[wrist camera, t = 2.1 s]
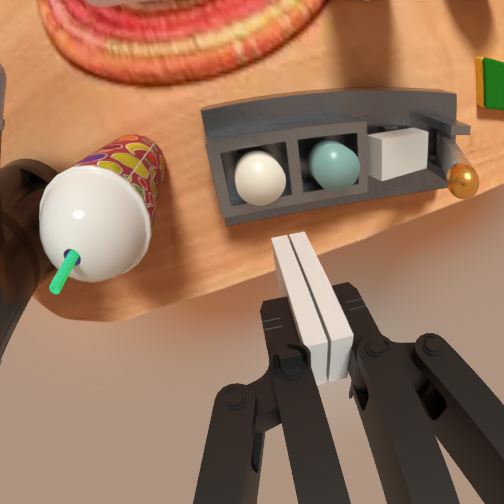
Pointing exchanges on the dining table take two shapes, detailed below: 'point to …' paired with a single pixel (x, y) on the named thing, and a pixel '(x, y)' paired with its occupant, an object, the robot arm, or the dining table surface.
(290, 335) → the robot arm
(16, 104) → the dining table surface
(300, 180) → the grey compartment panel
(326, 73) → the dining table surface
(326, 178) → the button teal
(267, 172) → the button cream
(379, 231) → the dining table surface
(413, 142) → the white brick eraser
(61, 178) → the smoothie
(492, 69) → the dish sponge
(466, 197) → the lever
